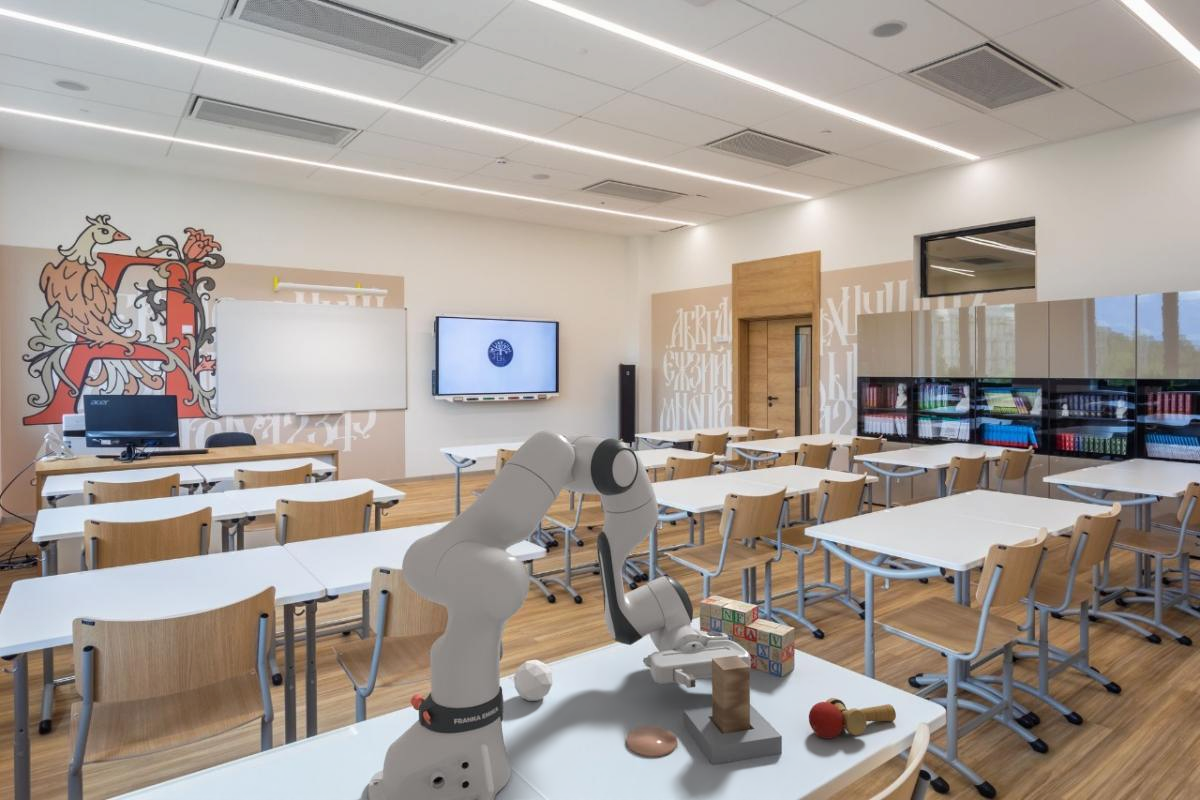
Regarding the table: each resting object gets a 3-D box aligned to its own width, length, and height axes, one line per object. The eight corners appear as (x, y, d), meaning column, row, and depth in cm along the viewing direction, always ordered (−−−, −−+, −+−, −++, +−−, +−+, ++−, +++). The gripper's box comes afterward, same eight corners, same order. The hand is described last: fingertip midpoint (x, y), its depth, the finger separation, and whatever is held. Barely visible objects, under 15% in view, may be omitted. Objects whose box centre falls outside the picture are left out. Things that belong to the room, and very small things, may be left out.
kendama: (870, 715, 133) (795, 721, 126) (878, 686, 132) (803, 690, 125) (900, 742, 126) (822, 749, 119) (908, 711, 125) (830, 717, 118)
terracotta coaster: (643, 762, 115) (643, 758, 115) (617, 737, 123) (617, 734, 123) (687, 747, 120) (687, 744, 120) (659, 724, 128) (659, 721, 128)
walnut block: (723, 748, 119) (723, 670, 119) (712, 734, 124) (711, 658, 124) (750, 744, 121) (749, 666, 120) (737, 730, 125) (737, 655, 125)
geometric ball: (532, 716, 137) (518, 695, 132) (516, 688, 143) (502, 667, 138) (564, 692, 139) (551, 671, 134) (546, 665, 145) (533, 644, 141)
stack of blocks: (795, 668, 151) (795, 614, 151) (781, 678, 147) (781, 621, 146) (714, 643, 166) (713, 594, 165) (699, 651, 161) (699, 600, 161)
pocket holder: (711, 764, 114) (711, 747, 114) (683, 726, 127) (683, 710, 127) (781, 753, 118) (781, 736, 118) (747, 716, 130) (747, 701, 130)
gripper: (640, 642, 139) (663, 670, 126) (732, 632, 144) (763, 658, 131) (640, 672, 139) (663, 704, 126) (732, 661, 144) (763, 690, 131)
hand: (715, 680), depth 128 cm, fingers open, 8 cm apart
